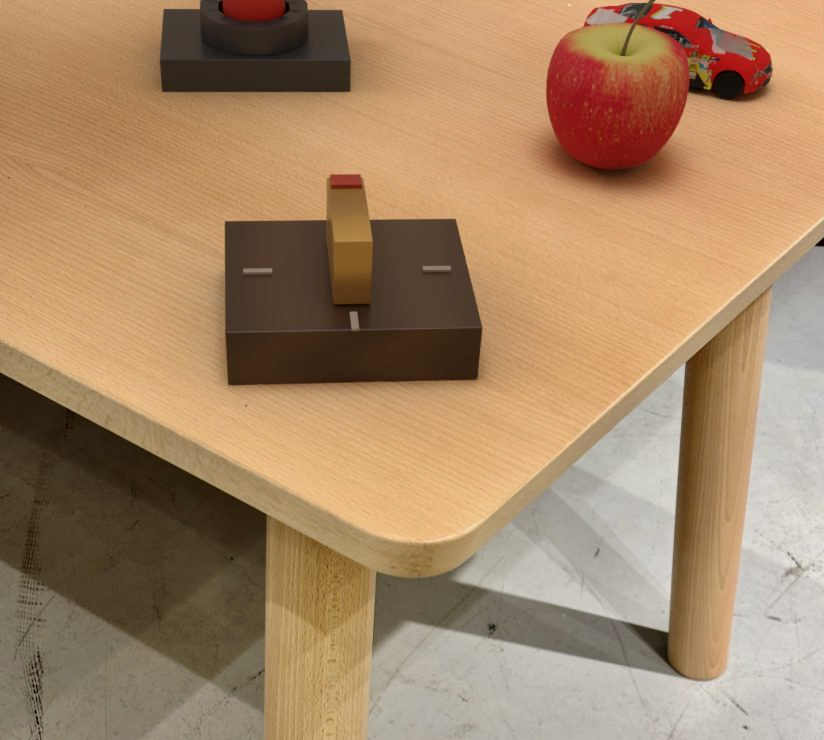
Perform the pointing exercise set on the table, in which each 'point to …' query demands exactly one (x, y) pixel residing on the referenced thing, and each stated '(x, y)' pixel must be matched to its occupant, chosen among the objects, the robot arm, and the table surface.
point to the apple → (616, 92)
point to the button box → (254, 51)
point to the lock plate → (348, 306)
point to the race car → (700, 46)
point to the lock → (349, 239)
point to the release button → (254, 9)
